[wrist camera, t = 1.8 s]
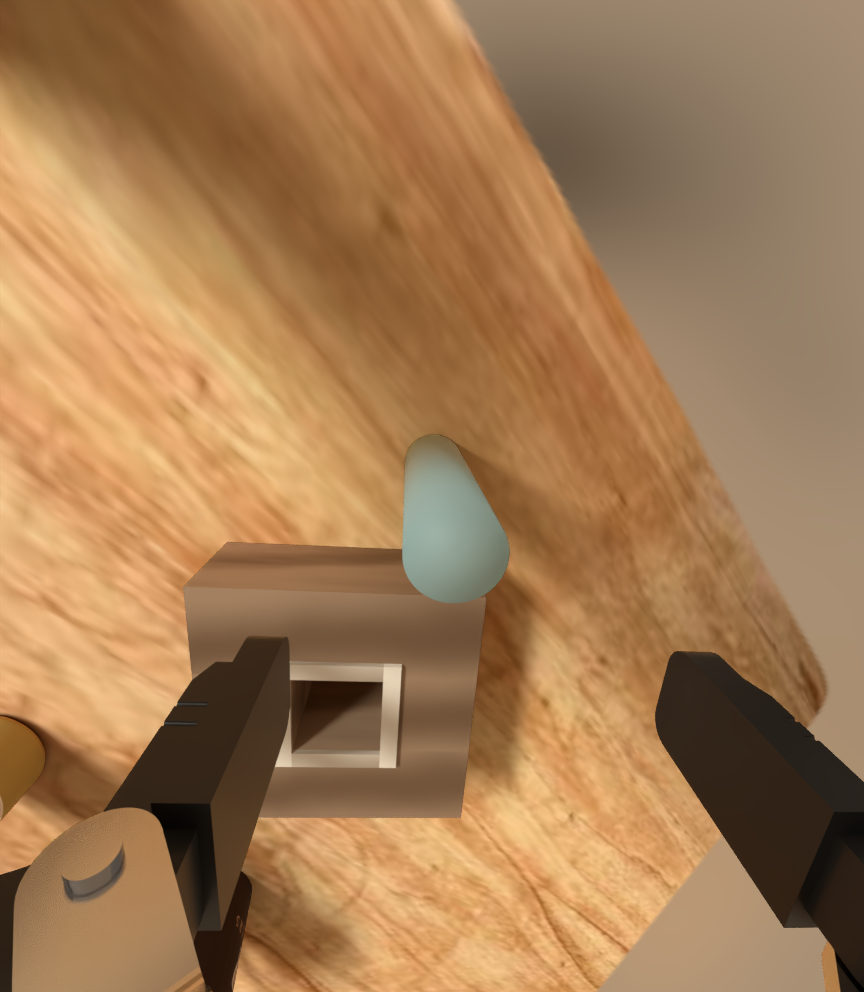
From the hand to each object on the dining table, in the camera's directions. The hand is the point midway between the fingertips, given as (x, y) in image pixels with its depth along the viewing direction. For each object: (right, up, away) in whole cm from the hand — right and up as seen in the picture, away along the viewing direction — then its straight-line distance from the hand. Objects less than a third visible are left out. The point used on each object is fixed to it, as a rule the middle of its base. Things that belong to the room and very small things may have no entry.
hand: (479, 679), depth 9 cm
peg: (-1, +6, +19) cm, 20 cm away
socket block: (-7, -7, +23) cm, 25 cm away
